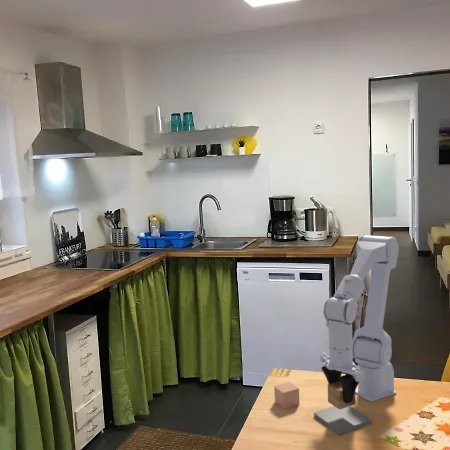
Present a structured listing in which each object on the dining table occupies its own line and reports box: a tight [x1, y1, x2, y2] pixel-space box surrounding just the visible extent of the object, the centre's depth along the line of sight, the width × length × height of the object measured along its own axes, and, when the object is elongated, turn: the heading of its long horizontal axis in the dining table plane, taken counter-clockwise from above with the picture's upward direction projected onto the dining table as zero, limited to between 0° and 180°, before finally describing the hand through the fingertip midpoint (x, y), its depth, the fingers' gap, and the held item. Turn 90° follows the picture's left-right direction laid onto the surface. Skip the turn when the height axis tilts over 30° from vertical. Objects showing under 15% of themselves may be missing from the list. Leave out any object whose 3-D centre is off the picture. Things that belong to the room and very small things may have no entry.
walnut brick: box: [327, 381, 357, 409], centre depth 124 cm, size 5×4×5 cm
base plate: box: [313, 405, 372, 436], centre depth 125 cm, size 10×10×1 cm
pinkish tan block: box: [273, 381, 300, 410], centre depth 135 cm, size 5×4×5 cm
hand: (341, 397), depth 125 cm, fingers closed on walnut brick, 4 cm apart
